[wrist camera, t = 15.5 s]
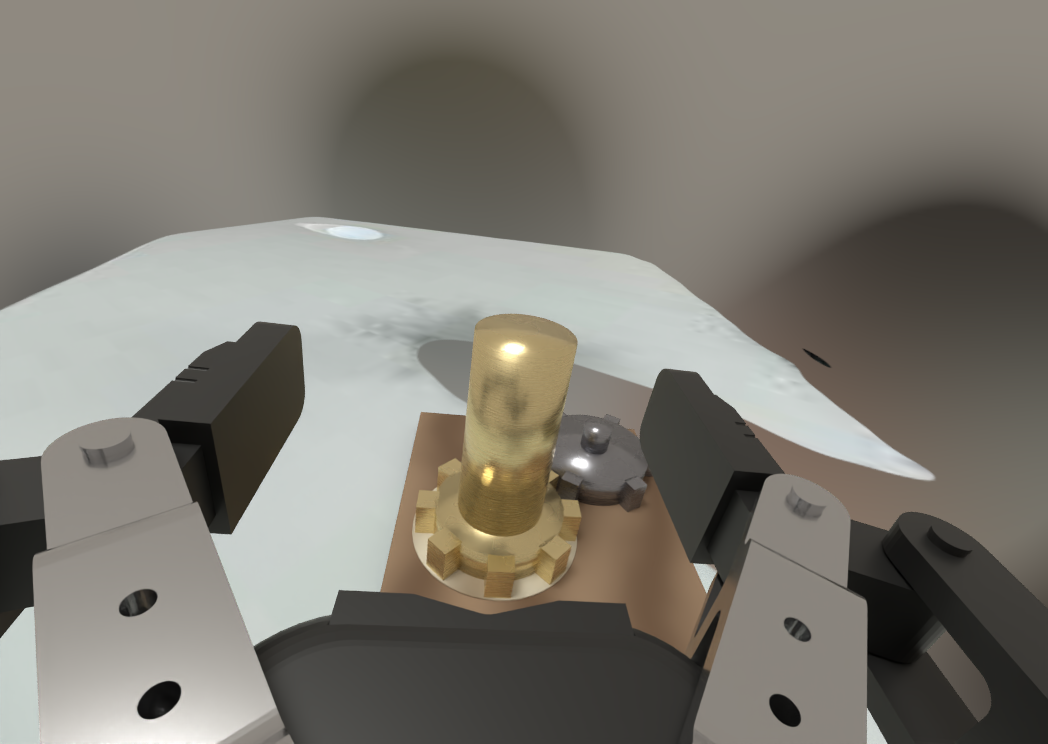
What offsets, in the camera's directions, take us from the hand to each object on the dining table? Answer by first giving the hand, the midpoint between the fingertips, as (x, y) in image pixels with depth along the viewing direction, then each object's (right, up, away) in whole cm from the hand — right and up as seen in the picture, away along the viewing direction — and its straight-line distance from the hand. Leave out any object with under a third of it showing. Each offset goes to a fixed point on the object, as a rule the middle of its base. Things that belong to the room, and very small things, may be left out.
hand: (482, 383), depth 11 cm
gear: (+6, -7, +25) cm, 27 cm away
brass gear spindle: (-1, -9, +19) cm, 21 cm away
